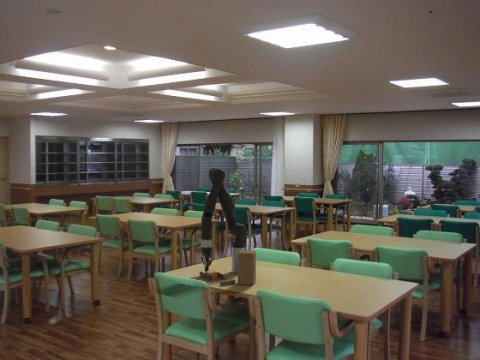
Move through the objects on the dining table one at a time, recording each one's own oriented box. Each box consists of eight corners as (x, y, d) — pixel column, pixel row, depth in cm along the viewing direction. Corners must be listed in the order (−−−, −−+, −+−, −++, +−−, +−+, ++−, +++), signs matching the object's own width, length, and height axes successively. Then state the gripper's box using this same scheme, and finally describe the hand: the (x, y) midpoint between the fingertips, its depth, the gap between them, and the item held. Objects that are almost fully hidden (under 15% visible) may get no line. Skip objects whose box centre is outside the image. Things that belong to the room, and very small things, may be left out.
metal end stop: (234, 283, 297) (234, 279, 297) (235, 284, 296) (235, 280, 296) (220, 285, 292) (220, 281, 292) (221, 286, 291) (221, 282, 290)
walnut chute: (212, 274, 321) (212, 269, 321) (224, 279, 307) (224, 274, 307) (199, 276, 316) (199, 271, 316) (210, 281, 302) (210, 276, 302)
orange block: (212, 276, 317) (212, 270, 317) (217, 277, 312) (217, 271, 312) (204, 277, 313) (204, 271, 313) (209, 279, 308) (209, 273, 308)
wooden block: (253, 285, 292) (253, 253, 291) (237, 284, 294) (237, 252, 293) (256, 281, 301) (256, 250, 301) (240, 281, 303) (240, 249, 303)
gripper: (216, 247, 313) (216, 273, 314) (207, 244, 325) (207, 269, 325) (206, 248, 310) (206, 274, 310) (197, 245, 321) (197, 270, 322)
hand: (206, 271), depth 318 cm, fingers closed
